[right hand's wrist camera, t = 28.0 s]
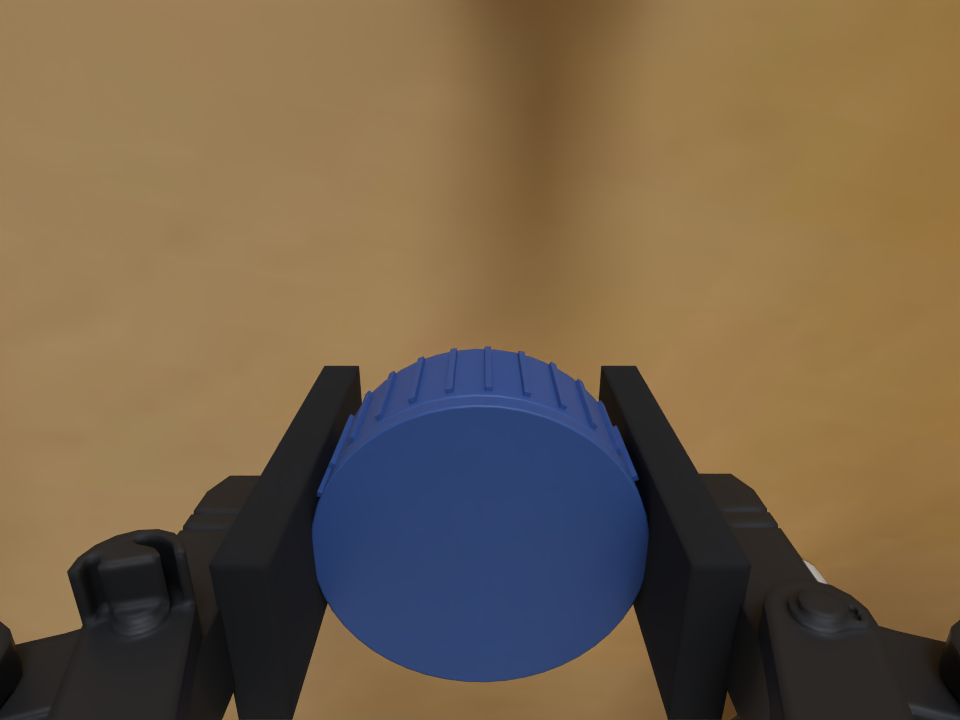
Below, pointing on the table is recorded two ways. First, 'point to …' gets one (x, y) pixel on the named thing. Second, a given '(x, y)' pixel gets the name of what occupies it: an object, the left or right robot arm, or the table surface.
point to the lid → (480, 519)
